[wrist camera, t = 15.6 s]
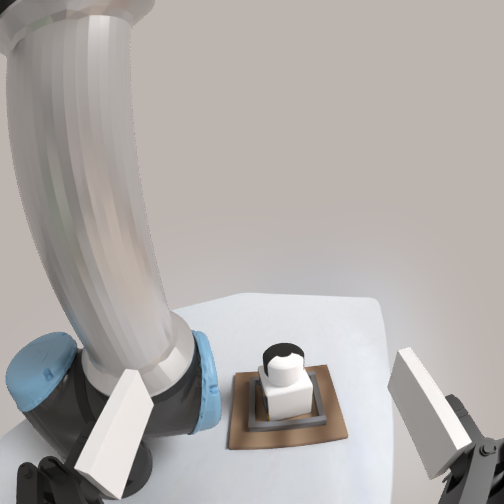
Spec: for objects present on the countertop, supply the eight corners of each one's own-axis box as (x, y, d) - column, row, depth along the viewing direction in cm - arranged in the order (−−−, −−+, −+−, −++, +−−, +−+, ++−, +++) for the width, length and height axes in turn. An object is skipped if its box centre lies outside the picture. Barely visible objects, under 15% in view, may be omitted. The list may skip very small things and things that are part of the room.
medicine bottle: (260, 393, 44) (254, 342, 40) (299, 385, 44) (299, 333, 41) (268, 423, 37) (263, 372, 33) (311, 413, 38) (315, 361, 34)
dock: (229, 449, 33) (227, 442, 32) (236, 375, 50) (234, 367, 49) (347, 438, 32) (349, 430, 31) (326, 367, 49) (327, 358, 48)
